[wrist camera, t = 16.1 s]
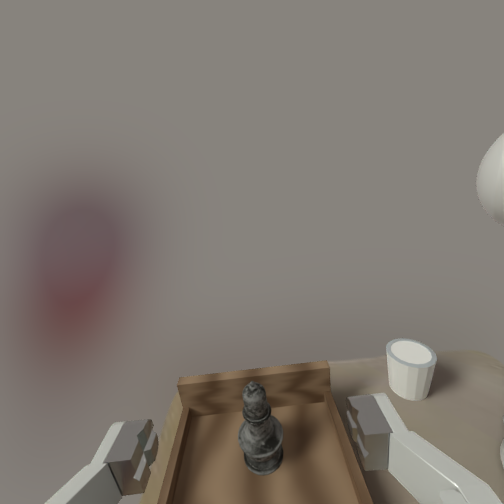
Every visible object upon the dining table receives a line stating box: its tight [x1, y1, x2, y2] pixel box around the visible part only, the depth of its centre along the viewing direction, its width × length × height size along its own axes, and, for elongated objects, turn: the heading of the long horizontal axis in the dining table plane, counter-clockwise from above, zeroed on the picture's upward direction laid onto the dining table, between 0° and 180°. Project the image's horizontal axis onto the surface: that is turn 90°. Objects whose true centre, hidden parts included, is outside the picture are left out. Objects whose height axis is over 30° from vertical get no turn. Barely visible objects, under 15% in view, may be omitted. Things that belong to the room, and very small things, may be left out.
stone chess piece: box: [238, 381, 283, 476], centre depth 32 cm, size 6×6×12 cm
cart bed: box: [157, 360, 373, 504], centre depth 31 cm, size 23×21×8 cm
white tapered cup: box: [386, 338, 437, 401], centre depth 42 cm, size 7×7×7 cm
